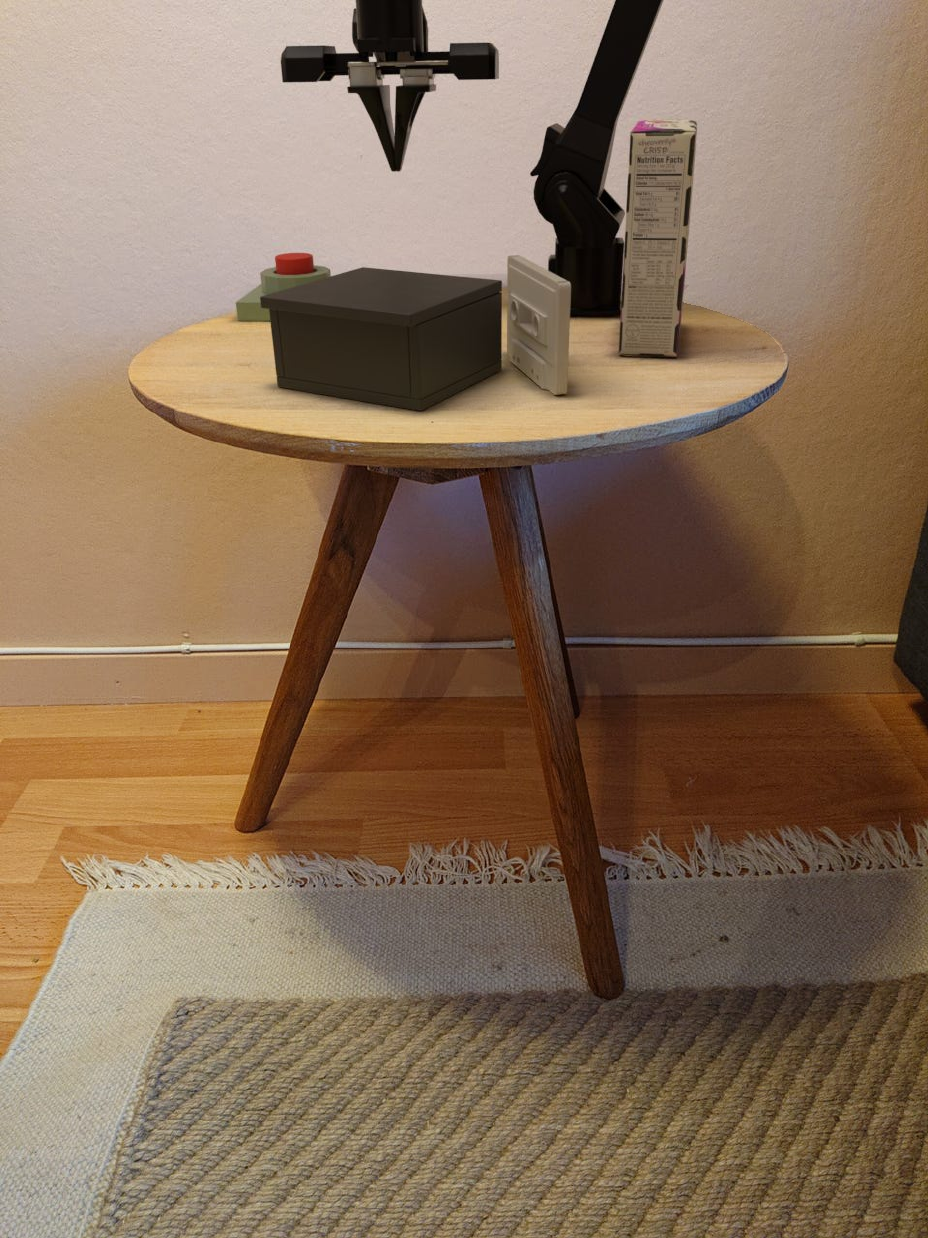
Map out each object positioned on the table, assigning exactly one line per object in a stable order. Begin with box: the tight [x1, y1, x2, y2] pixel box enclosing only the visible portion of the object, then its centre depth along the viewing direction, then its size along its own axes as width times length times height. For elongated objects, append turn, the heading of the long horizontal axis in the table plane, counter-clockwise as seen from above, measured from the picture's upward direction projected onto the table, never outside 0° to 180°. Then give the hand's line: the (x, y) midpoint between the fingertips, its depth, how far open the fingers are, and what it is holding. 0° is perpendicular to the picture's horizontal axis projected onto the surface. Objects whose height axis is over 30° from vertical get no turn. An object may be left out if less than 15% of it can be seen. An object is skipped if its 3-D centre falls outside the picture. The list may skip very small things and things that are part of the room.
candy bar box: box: [618, 118, 698, 358], centre depth 77 cm, size 11×5×16 cm, turn 168°
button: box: [274, 252, 315, 275], centre depth 93 cm, size 4×4×2 cm
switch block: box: [235, 264, 332, 322], centre depth 94 cm, size 11×9×4 cm
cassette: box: [506, 254, 571, 396], centre depth 71 cm, size 12×2×8 cm, turn 15°
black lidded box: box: [269, 291, 503, 412], centre depth 71 cm, size 12×13×6 cm
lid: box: [260, 266, 503, 327], centre depth 69 cm, size 12×13×1 cm
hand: (396, 170), depth 90 cm, fingers closed
